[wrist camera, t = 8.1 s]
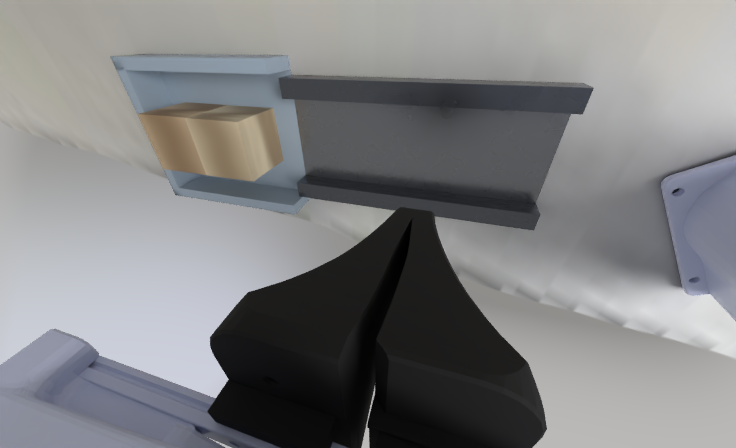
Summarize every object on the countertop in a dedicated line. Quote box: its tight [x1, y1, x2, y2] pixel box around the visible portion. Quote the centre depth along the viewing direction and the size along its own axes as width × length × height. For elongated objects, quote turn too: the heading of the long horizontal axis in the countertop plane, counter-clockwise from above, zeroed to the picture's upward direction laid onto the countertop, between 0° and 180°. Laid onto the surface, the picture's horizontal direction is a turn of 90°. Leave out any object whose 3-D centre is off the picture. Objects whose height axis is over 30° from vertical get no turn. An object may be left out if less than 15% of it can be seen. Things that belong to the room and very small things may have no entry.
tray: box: [110, 54, 310, 214], centre depth 21 cm, size 12×11×3 cm
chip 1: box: [138, 102, 226, 175], centre depth 21 cm, size 4×4×4 cm
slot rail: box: [278, 75, 593, 230], centre depth 18 cm, size 17×8×2 cm, turn 91°
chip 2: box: [185, 105, 284, 182], centre depth 20 cm, size 4×4×4 cm
